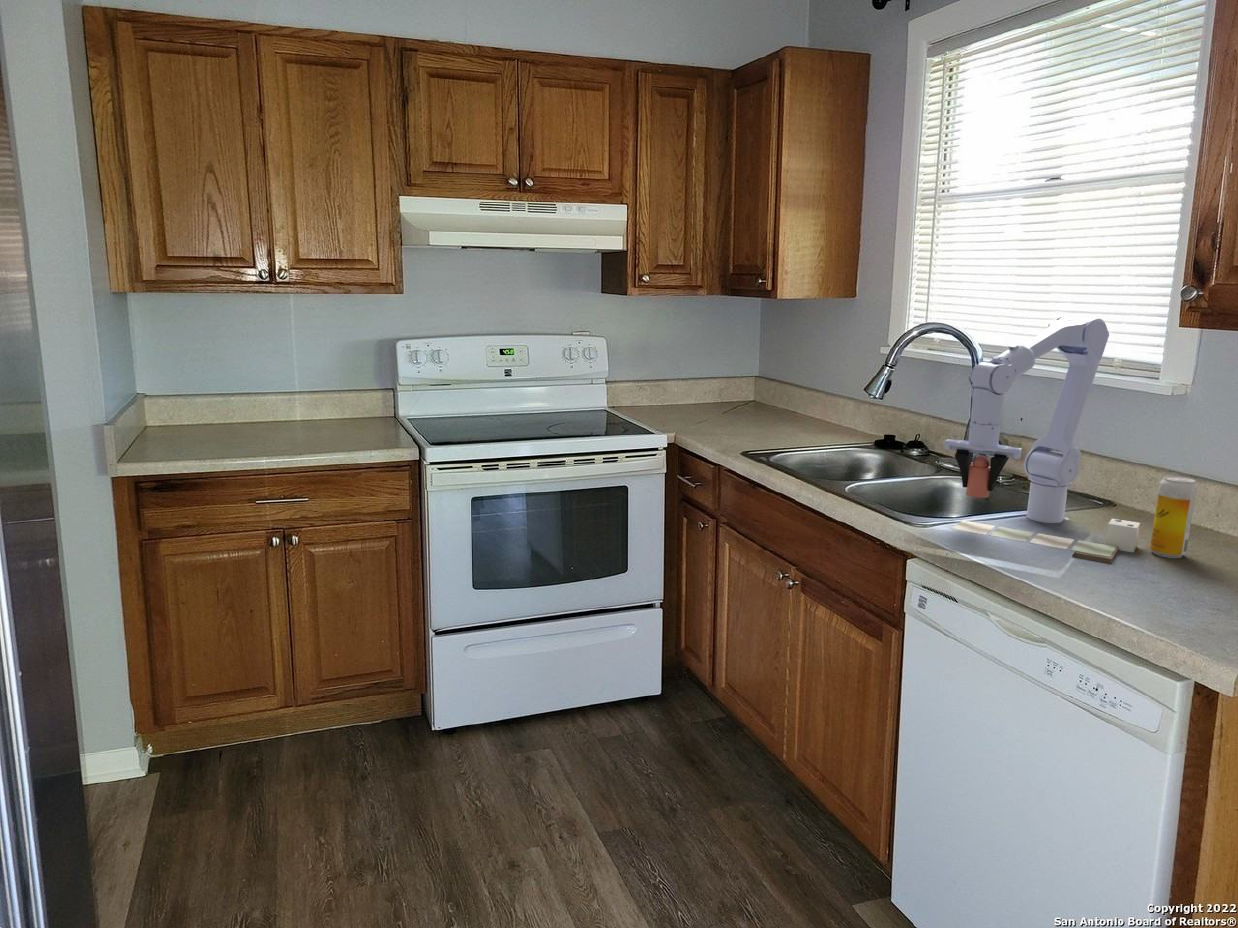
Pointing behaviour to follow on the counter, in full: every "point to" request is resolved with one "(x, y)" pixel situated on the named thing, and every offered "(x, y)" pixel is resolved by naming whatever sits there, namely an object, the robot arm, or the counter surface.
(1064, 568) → the counter surface
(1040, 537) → the board
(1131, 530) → the die
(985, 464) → the pawn
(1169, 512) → the beer can
